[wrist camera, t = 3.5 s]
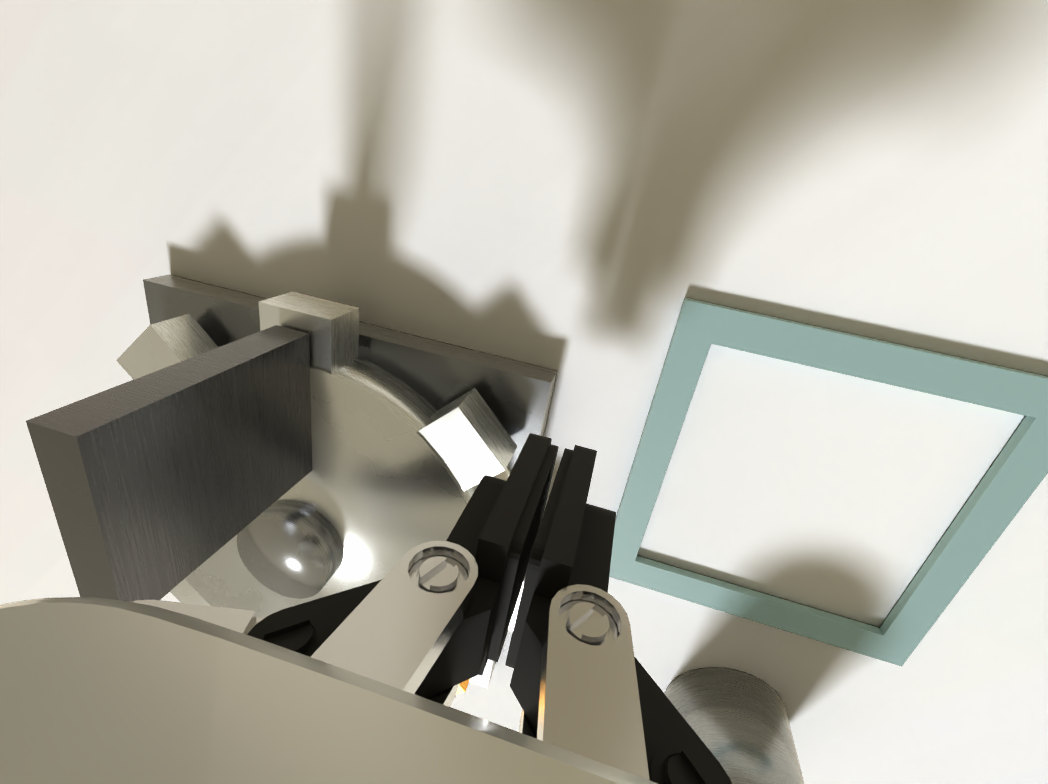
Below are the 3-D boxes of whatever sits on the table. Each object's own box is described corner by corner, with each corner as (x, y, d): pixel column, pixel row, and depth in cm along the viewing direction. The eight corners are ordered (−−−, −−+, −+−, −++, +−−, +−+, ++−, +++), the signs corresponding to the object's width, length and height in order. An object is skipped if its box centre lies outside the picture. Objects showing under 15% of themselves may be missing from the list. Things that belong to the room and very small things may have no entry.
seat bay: (1098, 387, 12) (1109, 392, 12) (897, 658, 16) (901, 666, 16) (684, 297, 13) (685, 300, 13) (600, 567, 18) (599, 573, 17)
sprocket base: (557, 370, 15) (550, 384, 14) (494, 666, 21) (486, 691, 20) (169, 274, 17) (139, 280, 16) (212, 569, 23) (192, 586, 22)
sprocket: (591, 363, 13) (527, 550, 7) (505, 718, 20) (429, 990, 13) (102, 243, 16) (-314, 292, 9) (172, 598, 23) (-34, 778, 16)
